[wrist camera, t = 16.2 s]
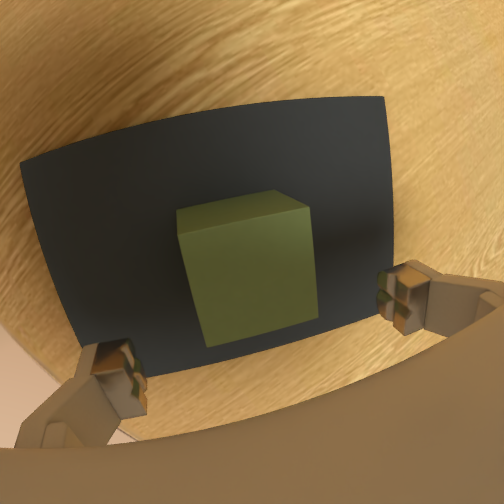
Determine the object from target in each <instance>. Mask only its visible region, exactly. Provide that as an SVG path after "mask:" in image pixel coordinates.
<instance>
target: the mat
mask: <svg viewBox="0 0 504 504" xmlns="http://www.w3.org/2000/svg"><path fill="white" fill-rule="evenodd" d="M20 168H21V173H22V178H23V183H24V187H25V191H26V195H27V199H28V203H29V207H30V211H31V215H32V218H33V222H34V225H35V229H36V232H37V235H38V239H39V242H40V245H41V248H42V251H43V254H44V257H45V260H46V263H47V266H48V269H49V272H50V274H51V277H52V280H53V282H54V285H55V288H56V290H57V293H58V295H59V298H60V300H61V303H62V305H63V307H64V310H65V312H66V314H67V317H68V319H69V321H70V324H71V326H72V328H73V330H74V332H75V335H76V337H77V339H78V341H79V343H80V345H81V347H82V349H83V347H84V346H86V345H90V344H95V343H101V342H107V341H112V340H118V339H123V338H128V337H129V338H130V339H131V340H132V342H133V344H134V346H135V349H136V350H135V357H136V358H138V359H139V360H141V363H142V365H143V367H144V371H145V374H146V378H148V377H153V376H158V375H163V374H168V373H173V372H178V371H182V370H187V369H192V368H196V367H201V366H205V365H209V364H213V363H218V362H222V361H226V360H230V359H234V358H238V357H242V356H245V355H249V354H253V353H257V352H260V351H264V350H268V349H271V348H275V347H278V346H282V345H285V344H288V343H292V342H295V341H298V340H302V339H305V338H308V337H311V336H315V335H318V334H321V333H324V332H327V331H330V330H333V329H336V328H339V327H342V326H345V325H348V324H351V323H354V322H357V321H360V320H362V319H365V318H368V317H371V316H374V315H376V314H379V311H378V308H377V304H376V295H377V293H378V291H379V290H380V287H379V286H378V285H377V275H378V273H379V272H380V271H383V270H386V269H389V268H391V267H393V255H394V217H393V187H392V169H391V155H390V144H389V133H388V124H387V116H386V108H385V100H384V97H383V96H351V97H324V98H307V99H294V100H283V101H272V102H263V103H255V104H247V105H239V106H232V107H226V108H219V109H213V110H207V111H201V112H196V113H190V114H185V115H180V116H175V117H170V118H166V119H161V120H157V121H152V122H148V123H144V124H140V125H136V126H132V127H128V128H124V129H120V130H116V131H113V132H109V133H106V134H102V135H99V136H95V137H92V138H89V139H85V140H82V141H79V142H76V143H73V144H70V145H67V146H64V147H61V148H58V149H55V150H52V151H49V152H47V153H44V154H41V155H39V156H36V157H33V158H31V159H28V160H26V161H23V162H20ZM269 190H276V191H278V192H280V193H282V194H284V195H287V196H289V197H291V198H293V199H295V200H297V201H299V202H301V203H303V204H305V205H307V206H309V208H310V217H311V227H312V238H313V249H314V260H315V273H316V286H317V301H318V318H315V319H312V320H309V321H305V322H302V323H299V324H295V325H292V326H288V327H285V328H281V329H278V330H274V331H271V332H267V333H263V334H259V335H256V336H252V337H248V338H244V339H240V340H237V341H233V342H229V343H225V344H220V345H216V346H212V347H207V346H206V343H205V339H204V336H203V332H202V329H201V325H200V322H199V318H198V315H197V311H196V307H195V304H194V300H193V296H192V292H191V288H190V285H189V281H188V277H187V273H186V269H185V265H184V261H183V257H182V253H181V249H180V244H179V240H178V236H177V216H176V210H178V209H182V208H186V207H191V206H196V205H200V204H205V203H209V202H214V201H219V200H224V199H228V198H233V197H238V196H243V195H248V194H253V193H258V192H264V191H269Z"/></svg>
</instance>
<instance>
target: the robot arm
mask: <svg viewBox="0 0 504 504" xmlns="http://www.w3.org/2000/svg"><path fill="white" fill-rule="evenodd" d="M377 285H378V286H379V287H380V290H379V291H378V293H377V295H376V304H377V308H378V311H379V313H380V314H381V316H382V317H383V318H384V319H385V320H389V321H393V327H395V328H396V329H397V330H398V331H399V332H400V333H401V334H403V335H404V336H406V335H409V334H411V333H413V332H416V331H418V330H420V329H422V328H424V329H425V330H428V331H431V332H434V333H436V334H439V335H442V336H445V337H448V338H447V339H445V340H443V341H441V342H439V343H437V344H435V345H434V346H432V347H430V348H428V349H426V350H424V351H422V352H420V353H418V354H416V355H414V356H412V357H410V358H408V359H406V360H404V361H402V362H400V363H397V364H395V365H393V366H391V367H389V368H387V369H384V370H382V371H380V372H378V373H375V374H373V375H371V376H368V377H366V378H364V379H361V380H359V381H357V382H354V383H352V384H349V385H347V386H344V387H342V388H339V389H337V390H334V391H331V392H329V393H326V394H323V395H321V396H318V397H315V398H312V399H309V400H306V401H304V402H301V403H298V404H295V405H292V406H289V407H285V408H282V409H279V410H276V411H273V412H269V413H266V414H262V415H259V416H255V417H252V418H248V419H245V420H241V421H237V422H233V423H229V424H225V425H221V426H217V427H213V428H208V429H204V430H199V431H194V432H189V433H184V434H179V435H174V436H168V437H163V438H157V439H150V440H144V441H137V442H129V443H121V444H113V445H107V443H108V441H109V440H110V438H111V437H112V435H113V433H114V432H115V430H116V429H117V427H118V426H119V424H120V422H121V420H123V419H128V418H134V417H139V416H144V415H147V398H146V396H145V394H144V392H145V391H146V390H147V379H146V374H145V371H144V367H143V365H142V363H141V360H139V359H138V358H136V357H135V350H136V349H135V346H134V344H133V342H132V340H131V339H130V338H129V337H128V338H123V339H118V340H112V341H107V342H101V343H95V344H90V345H86V346H84V347H83V349H82V352H81V355H80V359H79V362H78V365H77V368H76V372H75V375H74V378H70V379H68V380H67V381H66V382H65V383H64V384H63V385H62V386H61V387H60V388H59V389H58V390H56V391H55V392H54V393H53V394H52V395H51V396H50V397H49V398H48V399H47V400H46V401H45V402H44V403H43V404H42V405H40V406H39V407H38V408H37V409H36V410H35V411H34V412H33V413H32V414H31V415H30V416H29V417H28V418H27V419H25V421H24V422H22V424H21V427H20V430H19V434H18V437H17V440H16V443H15V446H14V448H0V504H504V282H501V281H494V280H487V279H480V278H473V277H465V276H458V275H451V274H445V275H443V274H441V273H439V272H437V271H435V270H434V269H432V268H430V267H428V266H426V265H425V264H423V263H421V262H419V261H417V260H410V261H407V262H405V263H402V264H400V265H397V266H394V267H391V268H389V269H386V270H383V271H380V272H379V273H378V275H377Z"/></svg>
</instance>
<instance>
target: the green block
mask: <svg viewBox="0 0 504 504" xmlns="http://www.w3.org/2000/svg"><path fill="white" fill-rule="evenodd" d="M176 216H177V236H178V240H179V244H180V249H181V253H182V257H183V261H184V265H185V269H186V273H187V277H188V281H189V285H190V288H191V292H192V296H193V300H194V304H195V307H196V311H197V315H198V318H199V322H200V325H201V329H202V332H203V336H204V339H205V343H206V346H207V347H212V346H216V345H220V344H225V343H229V342H233V341H237V340H240V339H244V338H248V337H252V336H256V335H259V334H263V333H267V332H271V331H274V330H278V329H281V328H285V327H288V326H292V325H295V324H299V323H302V322H305V321H309V320H312V319H315V318H318V301H317V286H316V273H315V260H314V249H313V238H312V227H311V217H310V208H309V206H307V205H305V204H303V203H301V202H299V201H297V200H295V199H293V198H291V197H289V196H287V195H284V194H282V193H280V192H278V191H276V190H269V191H264V192H258V193H253V194H248V195H243V196H238V197H233V198H228V199H224V200H219V201H214V202H209V203H205V204H200V205H196V206H191V207H186V208H182V209H178V210H176Z"/></svg>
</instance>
